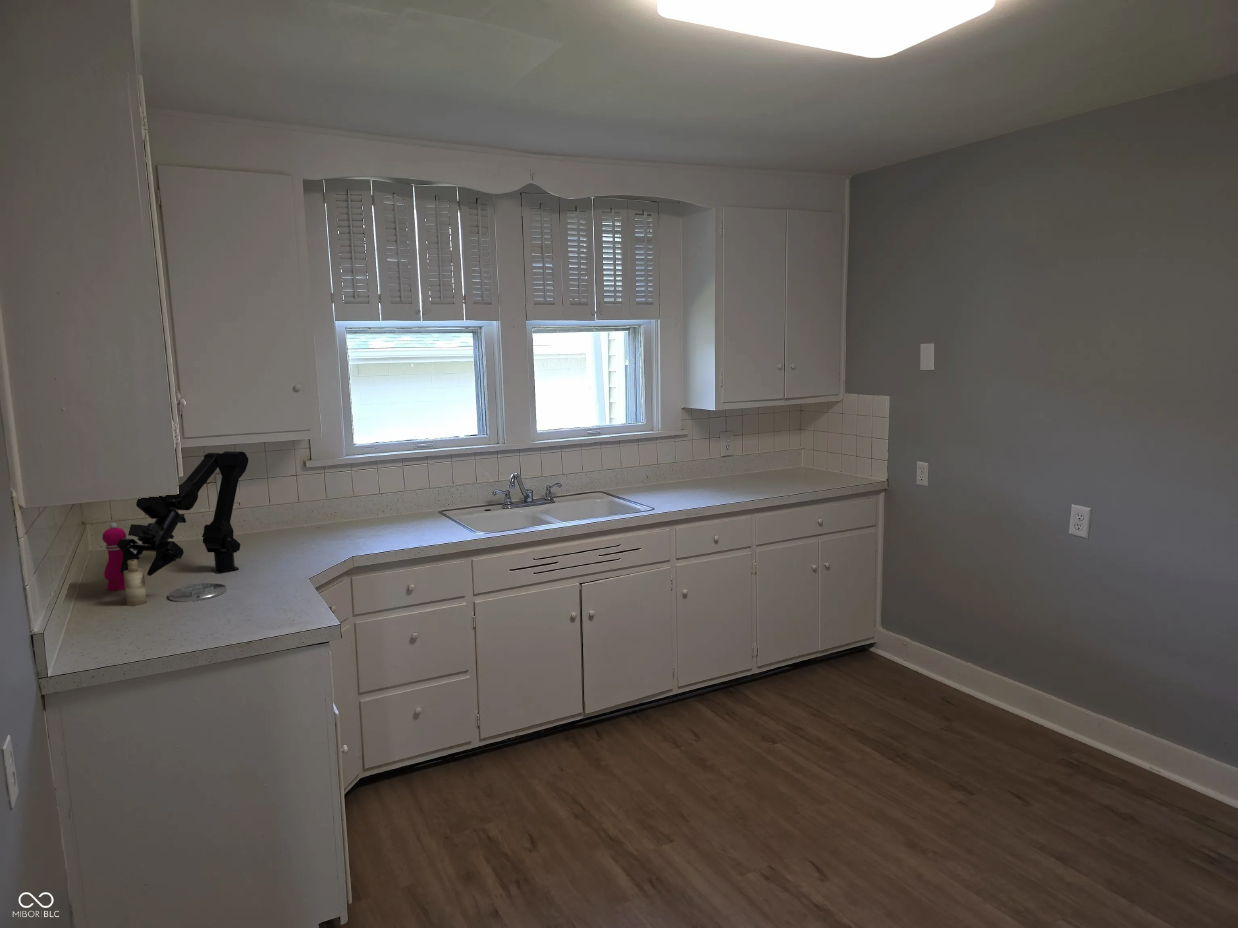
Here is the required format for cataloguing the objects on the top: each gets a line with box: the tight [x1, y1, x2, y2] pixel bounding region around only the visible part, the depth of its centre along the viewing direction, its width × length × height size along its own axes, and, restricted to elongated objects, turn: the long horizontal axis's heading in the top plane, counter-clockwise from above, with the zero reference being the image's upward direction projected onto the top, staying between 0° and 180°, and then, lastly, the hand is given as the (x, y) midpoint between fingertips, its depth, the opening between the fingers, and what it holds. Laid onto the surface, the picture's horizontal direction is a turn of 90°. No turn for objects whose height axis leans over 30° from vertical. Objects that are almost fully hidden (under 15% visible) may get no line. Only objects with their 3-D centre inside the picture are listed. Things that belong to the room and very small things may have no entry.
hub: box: [167, 582, 227, 603], centre depth 230 cm, size 15×15×2 cm
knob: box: [124, 559, 148, 607], centre depth 221 cm, size 5×5×13 cm
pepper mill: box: [101, 522, 127, 591], centre depth 236 cm, size 7×7×20 cm
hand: (135, 574), depth 221 cm, fingers open, 9 cm apart
